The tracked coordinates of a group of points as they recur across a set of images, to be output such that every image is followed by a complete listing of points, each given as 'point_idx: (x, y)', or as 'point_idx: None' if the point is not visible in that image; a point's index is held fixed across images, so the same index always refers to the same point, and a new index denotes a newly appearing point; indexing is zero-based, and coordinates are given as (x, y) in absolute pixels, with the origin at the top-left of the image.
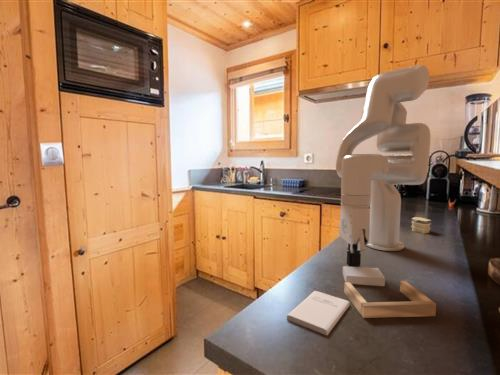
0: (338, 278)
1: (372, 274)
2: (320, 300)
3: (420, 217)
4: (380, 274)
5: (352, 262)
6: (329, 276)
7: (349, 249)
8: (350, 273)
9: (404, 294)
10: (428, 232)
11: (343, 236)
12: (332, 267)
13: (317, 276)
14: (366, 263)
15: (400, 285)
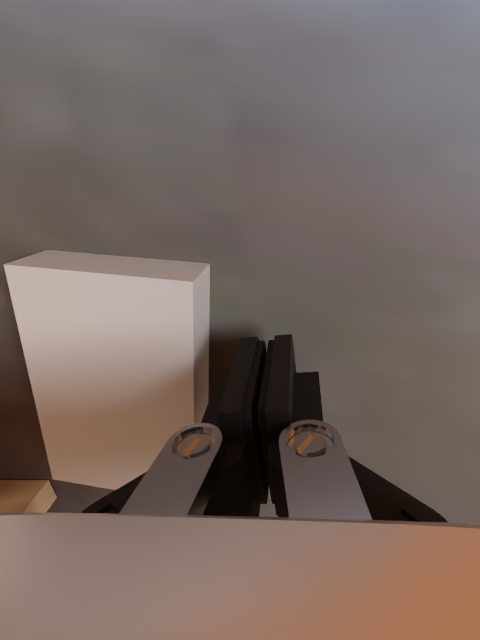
0: (113, 211)
1: (82, 437)
2: None
3: None
4: (95, 477)
5: (225, 380)
6: (133, 139)
7: (282, 448)
8: (54, 306)
9: (17, 481)
10: None
11: (235, 595)
12: (334, 201)
13: (107, 10)
14: (411, 475)
15: (26, 504)
